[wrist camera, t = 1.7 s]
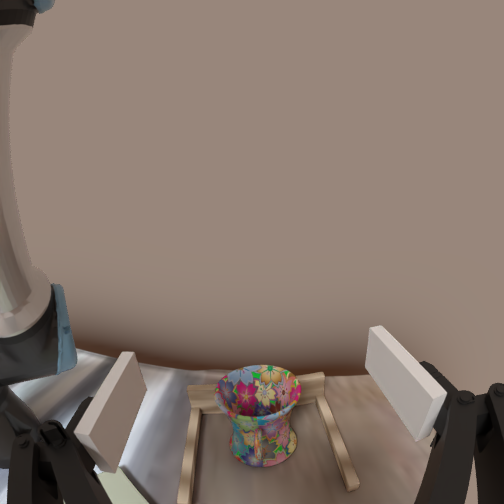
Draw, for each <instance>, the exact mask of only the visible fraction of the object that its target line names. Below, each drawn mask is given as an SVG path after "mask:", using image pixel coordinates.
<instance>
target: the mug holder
mask: <svg viewBox="0 0 504 504" xmlns="http://www.w3.org/2000/svg"><path fill="white" fill-rule="evenodd" d="M296 377H297V379H298V380H299V382H300V384H301V396H300V398H299V400H298V402H297V403H296V405H295V406H298V405H304V404H310V403H316V406H317V408H318V411H319V414H320V417H321V419H322V422H323V425H324V428H325V431H326V433H327V436H328V439H329V442H330V444H331V447H332V450H333V453H334V456H335V458H336V461H337V464H338V467H339V470H340V472H341V475H342V478H343V481H344V484H345V486H346V489H347V492H349V491H353V490H356V489H358V487H359V485H360V482H359V480H358V477H357V475H356V472H355V470H354V467H353V465H352V462H351V460H350V457H349V455H348V452H347V450H346V447H345V445H344V442H343V440H342V438H341V435H340V433H339V430H338V428H337V425H336V423H335V421H334V418H333V416H332V413H331V411H330V408H329V406H328V404H327V401H326V399H325V396H324V381H325V376H324V374H323V372H318V373H313V374H307V375H300V376H296ZM216 385H217V384H211V385H188V387H187V393H188V397H189V400H190V403H191V407H192V409H191V415H190V421H189V427H188V433H187V439H186V445H185V451H184V458H183V464H182V471H181V478H180V485H179V492H178V499H177V503H178V504H192V495H193V485H194V475H195V466H196V457H197V448H198V440H199V431H200V423H201V415H202V414H219V413H224V412H223V411H222V410H221V409H220V408H219V407H218V405H217V404H216V402H215V398H214V391H215V388H216Z"/></svg>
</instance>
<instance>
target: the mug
mask: <svg viewBox="0 0 504 504" xmlns="http://www.w3.org/2000/svg"><path fill="white" fill-rule="evenodd" d="M300 396H301V384H300V382H299V380H298V379H297V377H296V376H295V375H294V374H292V373H291V372H289V371H287V370H285V369H283V368H280V367H276V366H270V365H254V366H247V367H243V368H240V369H237V370H235V371H232V372H230V373H229V374H227V375H226V376H224V377H223V378H222V379H221V380H220V381H219V382H218V384H217V385H216V388H215V391H214V398H215V402H216V404H217V405H218V407H219V408H220V409H221V410H222V411H223V412H224V413H225V414H226V415H227V416H228V418H229V419H230V421H231V423H232V426H233V434H232V436H231V438H230V450H231V452H232V454H233V455H234V456H235V457H236V458H237V459H238V460H239V461H241V462H242V463H244V464H247V465H250V466H255V467H268V466H273V465H276V464H279V463H281V462H283V461H284V460H286V459H287V458H288V457H289V456H291V454H292V453H293V452H294V450H295V448H296V444H297V438H296V435H295V432H294V431H293V429H292V428H291V427H290V415H291V412H292V410H293V408H294V406H295V405H296V403H297V402H298V400H299V398H300Z"/></svg>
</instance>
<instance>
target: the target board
mask: <svg viewBox="0 0 504 504" xmlns="http://www.w3.org/2000/svg"><path fill="white" fill-rule="evenodd" d="M97 476H98V478H99V480H100V482H101V484H102V485H103V487H104V489H105V491H106V493H107V495H108V496H109V498H110V500H111V502H112V503H113V504H149V503H148V502H147V501H146V500H145V498H144V497H143V496H142V495H141V494H140V493H139V492H138V490H137V489H136V488H135V487H134V485H133V484H132V483H131V482H130V481H129V479H128V478H127V477H126V475H125V474H124V473H123V472H122V470H121V469H120V468H119V466H118V468H117V471H116V474H114V473H109V472H102V473H100V474H98V475H97ZM63 500H64V499H63ZM64 504H65V502H64Z"/></svg>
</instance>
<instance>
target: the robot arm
mask: <svg viewBox="0 0 504 504" xmlns="http://www.w3.org/2000/svg"><path fill="white" fill-rule="evenodd" d="M54 2H55V0H0V468H9V476H8V490H7V504H64V502H65V504H113V503H112V502H111V500H110V498H109V496H108V495H107V493H106V491H105V489H104V487H103V485H102V484H101V482H100V480H99V478H98V476H97V474H96V472H95V471H94V470H93V469H94V467H95V464H96V465H97V466H98V467H99V469H100V470H101V471H104V472H109V473H114V474H116V471H117V468H118V465H119V462H120V460H121V457H122V454H123V451H124V448H125V446H126V443H127V440H128V438H129V435H130V432H131V430H132V427H133V424H134V422H135V419H136V416H137V414H138V411H139V409H140V406H141V403H142V401H143V398H144V396H145V393H146V391H147V388H146V385H145V383H144V380H143V377H142V374H141V371H140V368H139V365H138V362H137V359H136V356H135V353H134V352H122V353H121V355H120V356H119V358H118V359H117V361H116V363H115V364H114V366H113V367H112V369H111V370H110V372H109V374H108V375H107V377H106V378H105V380H104V382H103V383H102V385H101V387H100V388H99V390H98V392H97V393H96V395H95V396H94V397H88V398H86V399H85V400H84V401H83V402H82V403H81V404H80V406H79V407H78V410H77V411H76V412H75V414H74V415H73V417H72V419H71V420H70V422H69V424H68V425H67V427H66V429H64V428H63V426H62V425H61V423H60V422H58V421H56V420H49V421H46V422H44V423H42V424H41V425H40V423H39V421H38V420H37V418H36V416H35V415H34V413H33V412H32V410H31V409H30V408H29V407H28V406H27V405H26V404H25V403H24V402H23V401H22V400H21V399H20V398H19V397H18V396H17V395H16V394H15V393H14V392H13V391H12V390H11V389H10V388H9V386H8V385H11V384H16V383H20V382H24V381H29V380H34V379H38V378H43V377H47V376H51V375H58V374H60V373H61V372H64V371H67V370H70V369H72V368H74V367H75V365H76V364H77V353H76V349H75V345H74V340H73V336H72V332H71V328H70V322H69V317H68V312H67V306H66V301H65V296H64V290H63V287H62V286H61V285H60V284H54V283H53V284H51V285H50V282H49V280H48V278H47V276H46V274H45V273H44V272H43V271H42V270H40V269H39V268H37V267H35V266H32V263H31V260H30V256H29V253H28V249H27V245H26V241H25V237H24V233H23V229H22V225H21V220H20V215H19V210H18V205H17V199H16V194H15V187H14V180H13V172H12V163H11V151H10V135H9V134H10V133H9V98H10V80H11V70H12V61H13V54H14V52H15V50H16V49H17V47H18V46H19V45H20V44H21V43H22V42H23V41H24V40H25V39H26V38H27V37H28V36H29V35H30V34H31V32H32V29H33V25H34V20H35V16H36V14H37V13H38V12H39V14H40V13H43V12H45V11H47V10H49V9H51V8H52V7H53V5H54ZM365 367H366V369H367V370H368V372H369V373H370V375H371V376H372V378H373V379H374V380H375V382H376V383H377V385H378V386H379V388H380V389H381V391H382V392H383V394H384V395H385V396H386V398H387V399H388V401H389V402H390V404H391V405H392V407H393V408H394V410H395V411H396V413H397V414H398V416H399V417H400V419H401V420H402V422H403V423H404V425H405V426H406V428H407V429H408V431H409V432H410V434H411V435H412V437H413V438H414V440H415V441H418V440H421V439H423V438H425V437H427V436H429V435H430V433H431V431H432V428H434V429H435V430H436V432H437V433H436V435H435V437H434V439H433V441H432V443H431V445H430V447H432V450H431V453H430V457H429V461H428V464H427V468H426V471H425V474H424V477H423V480H422V483H421V486H420V489H419V492H418V495H417V497H416V500H415V503H414V504H464V503H465V499H466V494H467V490H468V486H469V480H470V474H471V469H472V462H473V455H474V460H475V469H476V478H477V491H478V504H504V384H502V383H495V384H492V385H491V386H490V388H489V390H488V393H486V394H482V395H476V396H475V395H474V394H473V393H471V392H470V391H466V390H462V391H458V390H457V389H456V388H455V387H454V386H453V385H452V384H451V383H450V382H449V381H448V380H447V379H446V378H445V377H444V376H443V375H442V374H441V373H440V372H438V370H437V369H436V368H435V367H434V366H433V365H432V364H430V363H427V362H425V361H423V362H420V363H418V362H417V361H416V360H415V359H414V358H413V357H412V355H411V354H410V353H409V352H408V351H407V350H406V349H405V348H404V347H403V346H402V345H401V344H399V342H398V341H397V340H396V339H395V338H394V337H392V335H391V334H390V333H389V332H388V331H387V330H385V329H384V328H383V327H382V326H376V327H371V328H370V329H369V339H368V348H367V356H366V364H365ZM41 439H42V441H43V442H40V440H41ZM432 445H433V446H432ZM63 499H64V500H63Z"/></svg>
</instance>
